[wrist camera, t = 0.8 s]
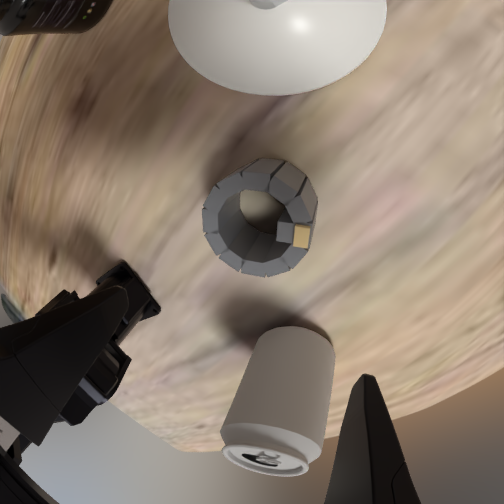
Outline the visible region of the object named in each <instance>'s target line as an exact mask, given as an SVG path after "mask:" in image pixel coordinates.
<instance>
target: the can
mask: <svg viewBox="0 0 504 504" xmlns="http://www.w3.org/2000/svg"><path fill="white" fill-rule="evenodd" d="M335 358H336V356H335V352H334V348H333V347H332V345H331V344H330V343H329V342H328V340H327V339H325V338H324V337H322V336H321V335H319V334H318V333H316V332H314V331H312V330H309V329H306V328H303V327H296V326H288V327H277V328H274V329H272V330H269V331H266V332H265V333H264V334H263V335H262V336H260V337H259V339H258V341H257V343H256V345H255V348H254V350H253V353H252V355H251V358H250V360H249V363H248V365H247V368H246V370H245V373H244V375H243V378H242V380H241V383H240V385H239V388H238V390H237V393H236V395H235V397H234V400H233V402H232V405H231V407H230V409H229V412H228V414H227V416H226V419H225V421H224V423H223V426H222V428H221V430H220V433H221V436H222V439H223V441H224V443H225V446H224V447H223V448H222V453H223V455H224V456H225V457H226V458H227V459H228V460H230V461H231V462H233V463H235V464H236V465H238V466H241V467H243V468H245V469H248V470H251V471H254V472H258V473H262V474H267V475H273V476H297V475H301V474H303V473H305V472H307V471H308V469H309V466H308V464H309V463H310V462H312V461H313V460H315V459H316V458H318V457H319V456H320V453H321V451H322V446H323V440H324V435H325V430H326V424H327V418H328V412H329V405H330V398H331V391H332V383H333V375H334V367H335Z"/></svg>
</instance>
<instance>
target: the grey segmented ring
mask: <svg viewBox="0 0 504 504" xmlns="http://www.w3.org/2000/svg"><path fill="white" fill-rule="evenodd" d="M305 176H306V175H305V174H304V173H303V172H301V171H300V170H298V169H297V168H296V167H294V166H293V165H291V164H290V163H288V162H286V163H285V164H284V160H275V159H264V158H261V159H260V160H259V159H257V160H255V161H253V162H251V163H249V164H247V165H245V166H243V167H241V168H239V169H237V170H236V171H234V172H233V173H231V174H230V175H228V176H227V177H225V178H224V179H222V180H221V181H219V182H218V183H217V184H216V185H214V187H213V188H212V190H211V192H210V194H209V196H208V197H207V199H206V201H205V203H204V205H203V206H204V208H203V209H202V218H203V232H206V234H205V235H204V236H205V237H206V239H207V241H208V242H209V244H210V246H211V248H212V249H213V251H214V253H215V254H216V255H219V254H221V255H220V256H219V259H221V260H222V261H224V262H225V263H226V264H228V265H229V266H231V267H232V268H234V269H235V270H236V271H239V270H240V269H241V273H244V274H249V275H254V276H260V277H265V276H266V275H267V277H270V276H274V275H277V274H280V273H284V272H287V271H290V269H291V268H292V269H293V268H294V267H295V266H296V265H297V264H298V262H299V261H300V260H301V259H302V258H303V257H304V256H305V255H306V253H307V252H308V250H309V248H310V244H311V240H312V235H313V231H314V226H315V222H316V214H317V205H318V201H317V196H316V193H315V191H314V189H313V187H312V185H311V182H310V180H309V178H306V179H304V178H305ZM243 190H254V191H263V192H267V193H269V194H270V195H272V196H273V197H274V198H276V199H277V200H279V201H280V202H281V203H283V204H284V205H285V206H286V207H285V209H284V211H283V213H282V214H281V216H280V218H279V220H278V226H277V235H275V234H268V233H262V232H260V231H258V230H257V229H255V228H254V227H252V226H251V225H250V224H248V223H247V221H246V219H245V218H244V216H243V214H242V212H241V210H240V192H241V191H243Z"/></svg>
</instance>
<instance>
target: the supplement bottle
mask: <svg viewBox="0 0 504 504" xmlns="http://www.w3.org/2000/svg"><path fill="white" fill-rule="evenodd" d="M111 2H112V0H0V34H1V35H3V36H14V35H27V34H78V33H82V32H85V31H87V30H88V29H90V28H91V27H93V26H94V25H95V24H96V23H97V22H98V21H99V20H100V19H101V18H102V17H103V16H104V14H105V13H106V11H107V10H108V8H109V6H110V4H111Z"/></svg>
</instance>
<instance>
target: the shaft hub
mask: <svg viewBox="0 0 504 504" xmlns="http://www.w3.org/2000/svg"><path fill="white" fill-rule="evenodd" d="M386 12H387V6H386V0H170V1H169V7H168V22H169V29H170V33H171V36H172V39H173V41H174V44H175V46H176V48H177V49H178V51H179V53H180V54H181V56H182V57H183V58H184V59H185V61H186V62H187V63H188V64H189V65H190V66H191V67H192V68H193V69H194V70H196V71H197V72H198V73H199V74H201V75H202V76H204V77H205V78H207V79H208V80H210V81H212V82H214V83H216V84H218V85H220V86H223V87H226V88H229V89H232V90H235V91H240V92H244V93H249V94H257V95H265V96H285V95H296V94H301V93H306V92H310V91H314V90H317V89H320V88H323V87H326V86H328V85H330V84H332V83H335V82H337V81H338V80H340V79H342V78H344V77H345V76H347V75H349V74H350V73H351V72H352V71H354V70H355V69H356V68H358V67H359V66H360V65H361V64H362V63H363V62H364V61H365V60H366V59H367V58H368V56H369V55H370V53H371V52H372V51H373V49H374V48H375V46H376V45H377V43H378V41H379V39H380V36H381V34H382V32H383V29H384V25H385V22H386Z"/></svg>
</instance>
